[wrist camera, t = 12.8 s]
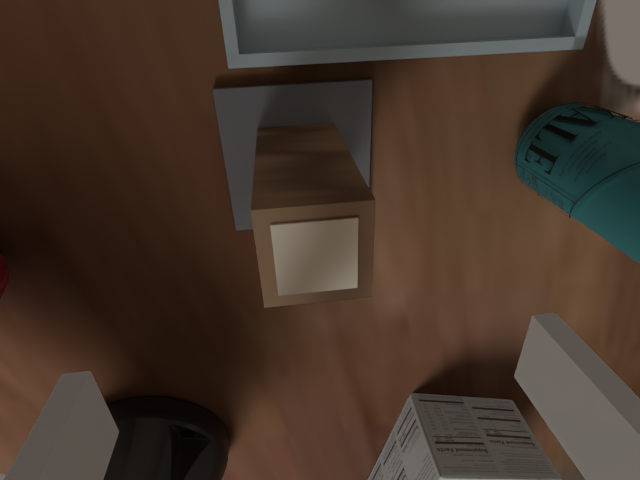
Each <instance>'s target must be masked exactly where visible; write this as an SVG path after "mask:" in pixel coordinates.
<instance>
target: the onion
mask: <svg viewBox="0 0 640 480" xmlns="http://www.w3.org/2000/svg"><path fill="white" fill-rule="evenodd" d="M8 276H9V272H8V267H7V262H6V260H5V258H4V257H3V256H2V255H1V253H0V298H1V296H2V295H3V293H4V291H5V288H6V286H7V283H8Z"/></svg>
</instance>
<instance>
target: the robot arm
mask: <svg viewBox="0 0 640 480" xmlns="http://www.w3.org/2000/svg"><path fill="white" fill-rule="evenodd" d="M514 378H515V379H516V380H517V382H518V383H519V385H520V386H521V388H522V389H523V391H524V392H525V393H526V395H527V396H528V398H529V399H530V401H531V402H532V403H533V405H534V406H535V408H536V409H537V411H538V412H539V414H540V415H541V416H542V418H543V419H544V421H545V422H546V424H547V425H548V426H549V428H550V429H551V431H552V432H553V434H554V435H555V437H556V438H557V439H558V441H559V442H560V444H561V445H562V447H563V448H564V449H565V451H566V452H567V454H568V455H569V457H570V458H571V460H572V461H573V462H574V464H575V465H576V467H577V468H578V470H579V471H580V472H581V474H582V475H583V477H584V478H585V480H640V398H639V397H638V396H637V395H636V394H635V393H634V392H633V391H632V390H631V389H630V388H629V387H628V386H627V385H626V384H625V383H624V382H623V381H622V380H621V379H620V378H619V377H618V376H617V375H616V374H615V373H614V372H613V371H612V370H611V369H610V368H609V367H608V366H607V365H606V364H605V363H604V362H603V361H602V360H601V359H600V358H599V357H598V356H597V355H596V353H595V352H594V351H593V350H592V349H591V348H590V347H589V346H588V345H587V344H586V343H585V342H584V341H583V340H582V339H581V338H580V337H579V336H578V335H577V334H576V333H575V332H574V331H573V330H572V329H571V328H570V327H569V326H568V325H567V324H566V323H565V322H564V321H563V320H562V319H561V318H560V317H559V316H558V315H557V314H556V313H548V314H540V315H532V318H531V321H530V325H529V328H528V331H527V335H526V338H525V341H524V345H523V348H522V351H521V355H520V358H519V361H518V365H517V368H516V371H515V375H514ZM228 452H229V435H228V432H227V430H226V428H225V426H224V425H223V423H222V422H221V421H220V420H219V419H218V418H217V417H216V416H215V415H213V414H212V413H210V412H209V411H207V410H206V409H204V408H202V407H200V406H197V405H195V404H192V403H189V402H186V401H182V400H178V399H172V398H165V397H138V398H131V399H125V400H121V401H117V402H114V403H111V404H109V405H106V403H105V400H104V398H103V396H102V394H101V392H100V390H99V388H98V386H97V384H96V382H95V379H94V377H93V375H92V373H91V371H83V372H75V373H67V374H61V376H60V378H59V380H58V382H57V383H56V385H55V387H54V389H53V391H52V393H51V394H50V396H49V398H48V400H47V402H46V404H45V405H44V407H43V409H42V411H41V413H40V415H39V416H38V418H37V420H36V422H35V424H34V426H33V427H32V429H31V431H30V433H29V435H28V437H27V438H26V440H25V442H24V444H23V446H22V448H21V449H20V451H19V453H18V455H17V457H16V459H15V460H14V462H13V464H12V466H11V468H10V470H9V472H8V473H7V475H6V477H5V479H4V480H222V477H223V475H224V472H225V470H226V466H227V462H228Z"/></svg>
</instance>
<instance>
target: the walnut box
mask: <svg viewBox="0 0 640 480" xmlns="http://www.w3.org/2000/svg"><path fill="white" fill-rule="evenodd" d="M251 217H252V224H253V231H254V238H255V245H256V252H257V259H258V266H259V273H260V280H261V287H262V294H263V301H264V308H268V307H278V306H288V305H298V304H307V303H317V302H327V301H337V300H347V299H357V298H366V297H372V275H373V249H374V224H375V198H374V197H373V195H372V193H371V191H370V189H369V187H368V185H367V184H366V182H365V180H364V178H363V176H362V174H361V173H360V171H359V169H358V167H357V165H356V163H355V161H354V160H353V158H352V156H351V154H350V152H349V150H348V148H347V147H346V145H345V143H344V141H343V139H342V137H341V136H340V134H339V132H338V130H337V128H336V126H335V124H334V123H322V124H307V125H292V126H277V127H263V128H257V140H256V151H255V163H254V175H253V187H252V199H251Z"/></svg>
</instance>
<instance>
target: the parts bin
mask: <svg viewBox="0 0 640 480" xmlns="http://www.w3.org/2000/svg"><path fill="white" fill-rule="evenodd" d="M218 1H219V8H220V15H221V22H222V28H223V35H224V42H225V49H226V56H227V63H228V69H232V68H250V67H268V66H286V65H305V64H323V63H341V62H359V61H377V60H395V59H413V58H431V57H449V56H467V55H485V54H503V53H521V52H539V51H557V50H575V49H583V47H584V44H585V40H586V36H587V33H588V29H589V26H590V22H591V18H592V15H593V11H594V7H595V4H596V0H218Z"/></svg>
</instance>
